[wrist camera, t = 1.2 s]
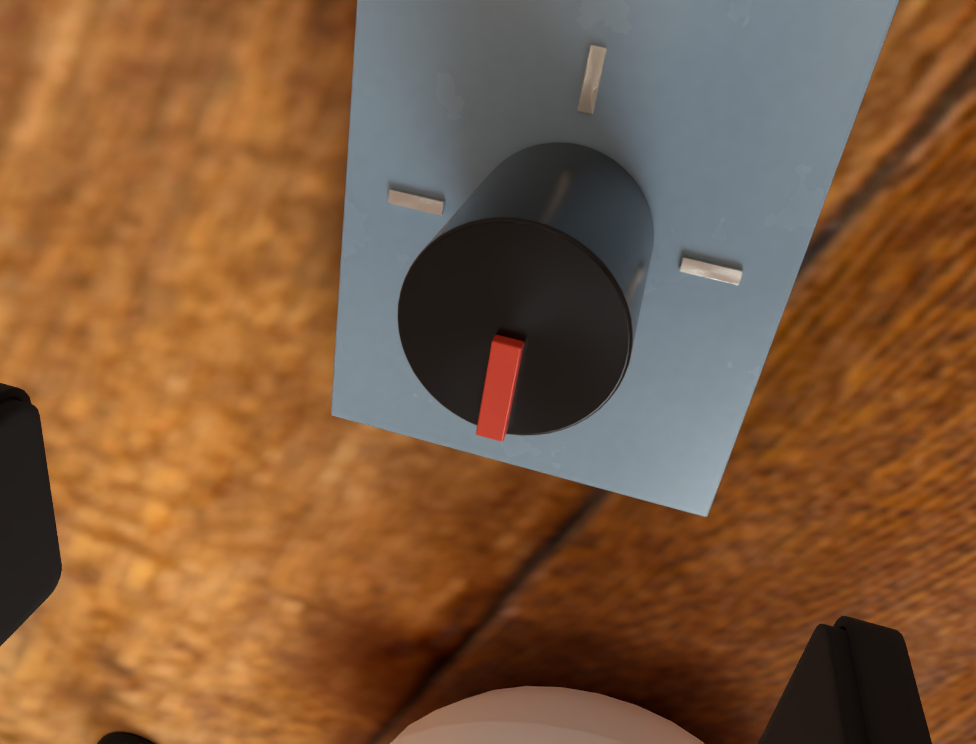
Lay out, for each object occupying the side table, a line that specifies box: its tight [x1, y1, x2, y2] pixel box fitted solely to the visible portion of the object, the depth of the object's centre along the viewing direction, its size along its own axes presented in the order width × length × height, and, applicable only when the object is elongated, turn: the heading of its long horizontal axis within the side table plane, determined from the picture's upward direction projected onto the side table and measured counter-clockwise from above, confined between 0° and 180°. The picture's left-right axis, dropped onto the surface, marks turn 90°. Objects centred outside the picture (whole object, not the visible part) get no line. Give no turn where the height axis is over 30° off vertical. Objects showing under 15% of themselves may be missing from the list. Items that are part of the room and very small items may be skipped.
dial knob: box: [397, 142, 654, 442], centre depth 17 cm, size 4×4×6 cm
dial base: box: [331, 0, 899, 517], centre depth 21 cm, size 14×11×3 cm
